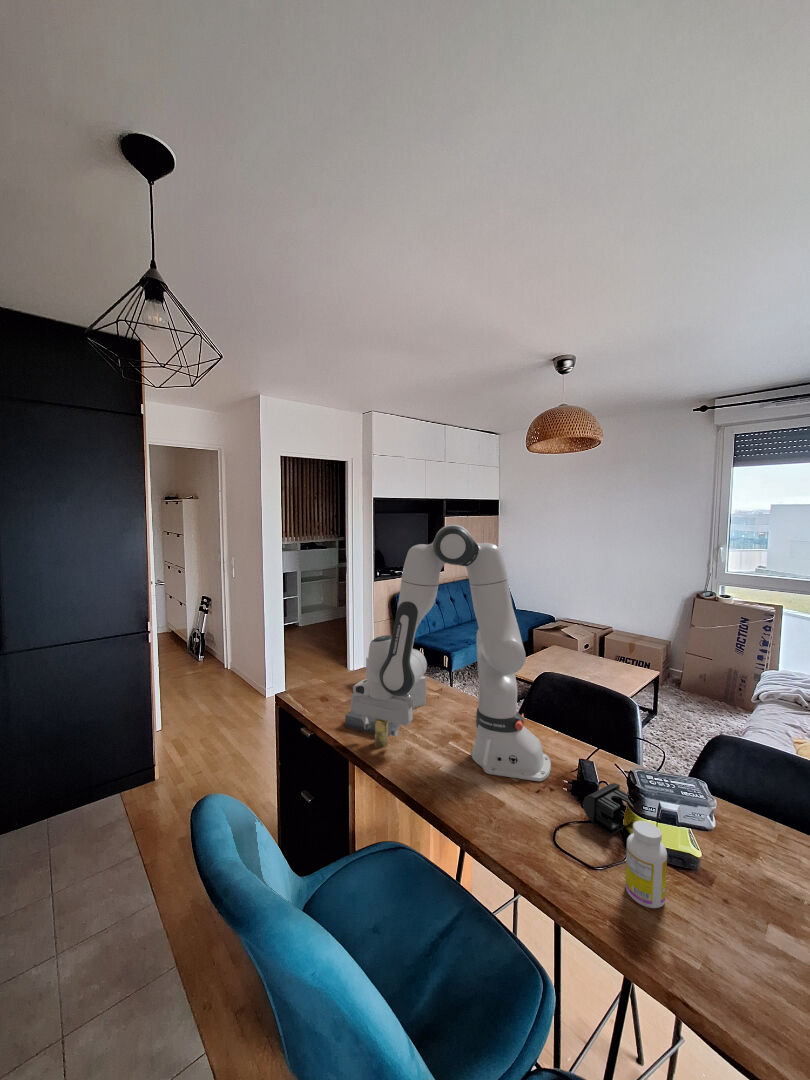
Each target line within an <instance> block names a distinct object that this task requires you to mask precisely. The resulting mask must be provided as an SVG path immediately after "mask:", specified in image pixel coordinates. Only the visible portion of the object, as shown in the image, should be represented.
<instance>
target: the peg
mask: <svg viewBox="0 0 810 1080" xmlns="http://www.w3.org/2000/svg"><path fill="white" fill-rule="evenodd" d="M388 745H389V737H388V721H385V720H381V719H376V718H375V734H374V746H375V747H377V748H385V747H387V746H388Z"/></svg>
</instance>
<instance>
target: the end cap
mask: <svg viewBox="0 0 810 1080" xmlns="http://www.w3.org/2000/svg"><path fill="white" fill-rule="evenodd" d="M620 785H621V784H618V783H614V782H613V783H612V782H611V783H610V784H607V785H606V786H604V787H602V788H600V789H598V790H596V791H594V792H593V793H591V794H589V795H587V796H585V797H584V799H583V801H582V807H583V812H584V813H585V815H586V816H587V818H588V820H590V821H591V823H592V824H593V825H594V826H595V827H597V828H598V829H599V830H601V831H602V832H604V833H606V834H607V835H609V836H614V835H615V834H617V833H619V832H620V831H621V830H623V829H624V828H623V827H624V826H623V819H624V814H625V810H626V806H628V803H629V802H628V795H629V793H626V792H625V791H623V790H621V789H620ZM626 803H627V804H626Z"/></svg>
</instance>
